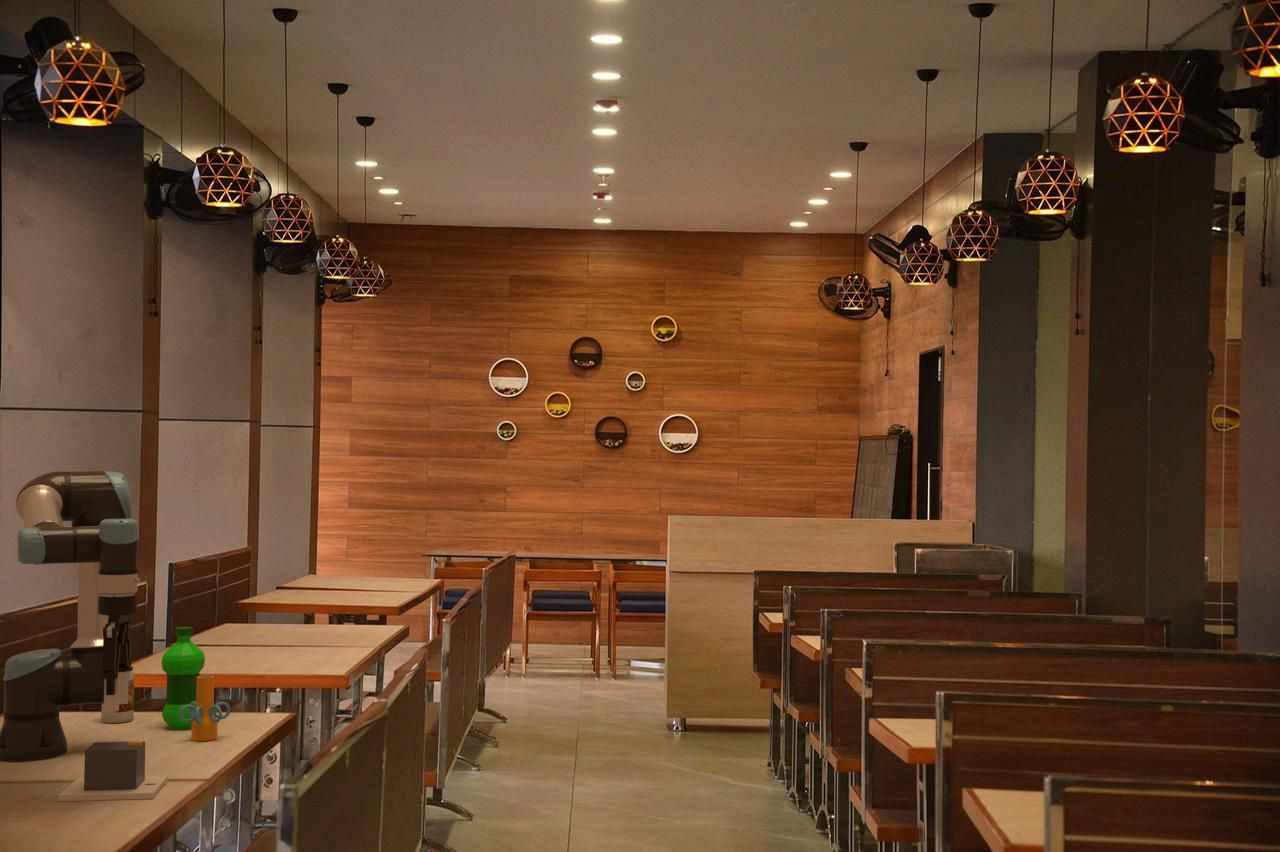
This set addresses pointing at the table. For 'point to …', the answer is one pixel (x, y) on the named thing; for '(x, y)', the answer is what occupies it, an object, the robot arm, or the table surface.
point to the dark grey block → (114, 766)
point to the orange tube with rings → (204, 711)
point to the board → (114, 791)
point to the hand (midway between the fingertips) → (116, 707)
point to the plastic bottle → (181, 677)
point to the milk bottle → (122, 707)
